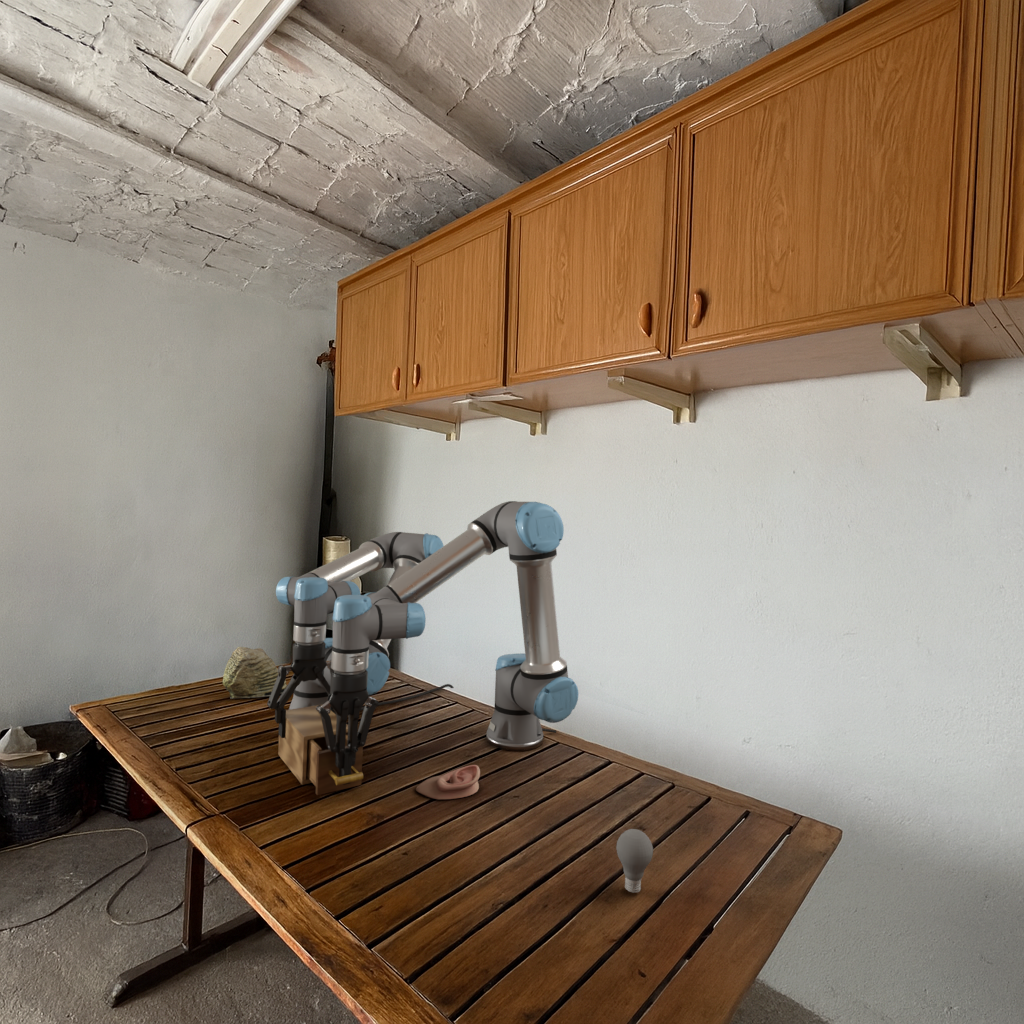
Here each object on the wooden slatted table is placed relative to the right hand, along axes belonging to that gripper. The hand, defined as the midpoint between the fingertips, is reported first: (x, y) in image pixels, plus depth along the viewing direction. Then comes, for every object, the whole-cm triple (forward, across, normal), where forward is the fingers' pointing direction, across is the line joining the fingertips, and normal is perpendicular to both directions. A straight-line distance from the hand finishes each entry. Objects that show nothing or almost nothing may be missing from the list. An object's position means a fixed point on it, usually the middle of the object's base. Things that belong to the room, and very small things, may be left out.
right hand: (344, 781), depth 133 cm
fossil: (+5, +1, +79) cm, 80 cm away
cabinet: (+4, 0, +20) cm, 21 cm away
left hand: (-2, 0, +26) cm, 26 cm away
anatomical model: (+4, +21, -7) cm, 23 cm away
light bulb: (+3, +30, -54) cm, 62 cm away
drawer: (+3, 0, +9) cm, 9 cm away
